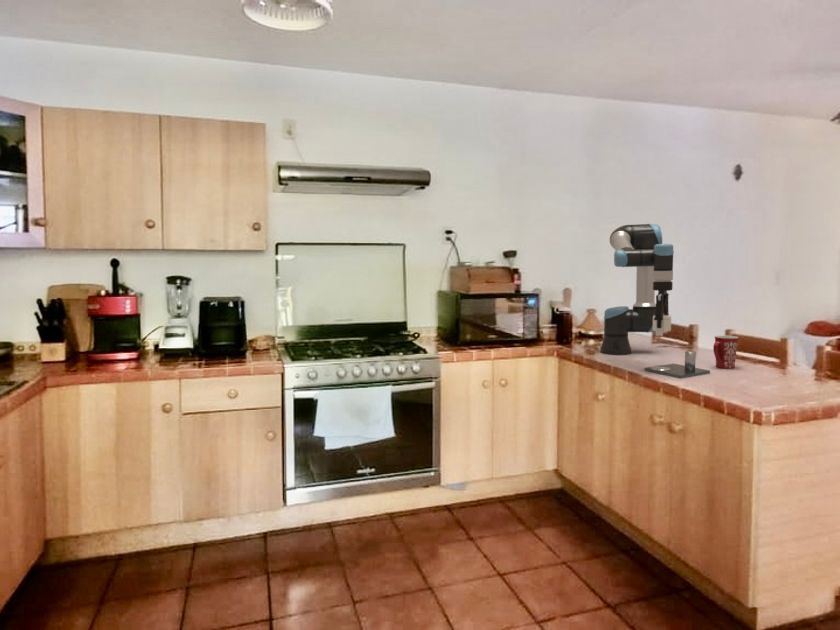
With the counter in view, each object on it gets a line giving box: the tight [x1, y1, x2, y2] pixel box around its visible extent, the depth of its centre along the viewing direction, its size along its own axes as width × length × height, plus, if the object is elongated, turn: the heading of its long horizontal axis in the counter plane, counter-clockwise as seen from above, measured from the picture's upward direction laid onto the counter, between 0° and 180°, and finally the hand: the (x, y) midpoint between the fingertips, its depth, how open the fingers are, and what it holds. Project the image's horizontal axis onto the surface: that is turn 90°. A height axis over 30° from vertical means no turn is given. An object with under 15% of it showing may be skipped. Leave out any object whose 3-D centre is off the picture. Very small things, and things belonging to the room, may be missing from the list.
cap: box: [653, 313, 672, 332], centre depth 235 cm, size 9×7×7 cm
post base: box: [644, 350, 711, 379], centre depth 235 cm, size 18×18×9 cm
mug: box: [712, 334, 739, 369], centre depth 242 cm, size 13×9×14 cm
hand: (661, 334), depth 235 cm, fingers closed on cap, 9 cm apart
